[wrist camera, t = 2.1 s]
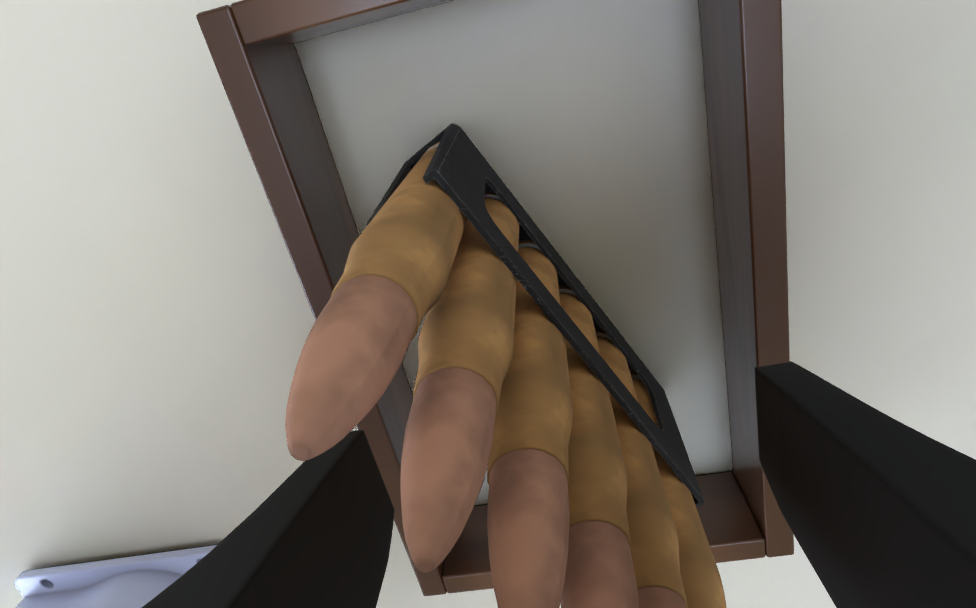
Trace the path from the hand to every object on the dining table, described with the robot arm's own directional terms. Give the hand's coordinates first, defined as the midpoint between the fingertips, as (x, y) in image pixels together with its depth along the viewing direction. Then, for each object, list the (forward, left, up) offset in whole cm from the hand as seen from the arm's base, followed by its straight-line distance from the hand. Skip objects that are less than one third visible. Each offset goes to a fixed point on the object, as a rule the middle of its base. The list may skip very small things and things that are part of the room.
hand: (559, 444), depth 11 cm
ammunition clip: (0, 0, -8) cm, 8 cm away
